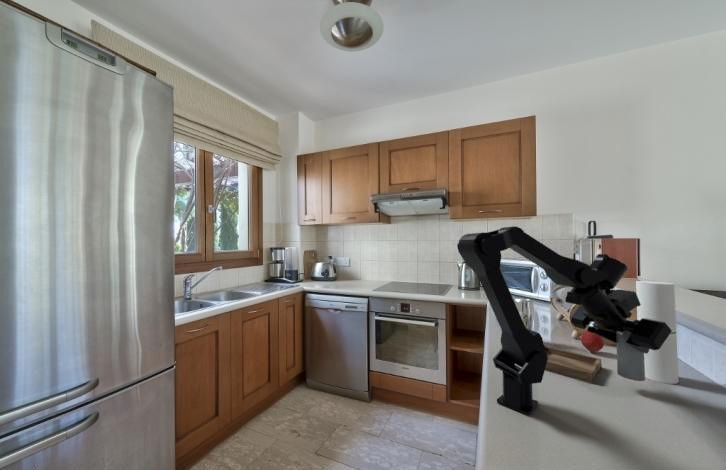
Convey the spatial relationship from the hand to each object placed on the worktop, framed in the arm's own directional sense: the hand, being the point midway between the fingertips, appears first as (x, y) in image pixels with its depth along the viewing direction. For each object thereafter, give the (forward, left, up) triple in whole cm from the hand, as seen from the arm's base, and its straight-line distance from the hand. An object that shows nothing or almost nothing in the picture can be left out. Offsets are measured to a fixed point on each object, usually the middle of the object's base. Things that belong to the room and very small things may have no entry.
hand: (634, 348), depth 68 cm
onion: (+23, +12, -10) cm, 28 cm away
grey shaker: (-1, +1, -7) cm, 7 cm away
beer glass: (+18, +31, -10) cm, 37 cm away
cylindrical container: (+14, -3, -10) cm, 17 cm away
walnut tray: (+3, +15, -10) cm, 18 cm away
